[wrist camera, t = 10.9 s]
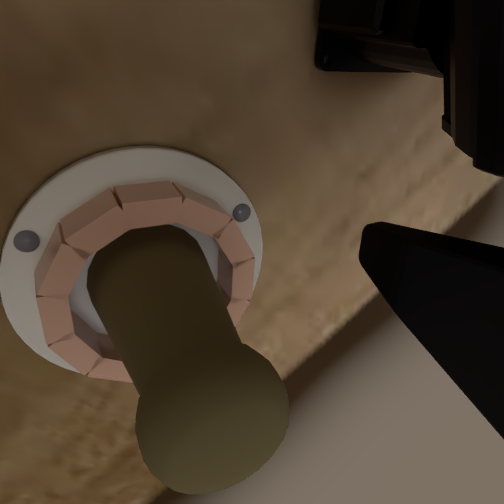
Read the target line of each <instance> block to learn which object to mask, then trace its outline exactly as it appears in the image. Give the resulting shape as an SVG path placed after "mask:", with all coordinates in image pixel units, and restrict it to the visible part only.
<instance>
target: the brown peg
mask: <svg viewBox="0 0 504 504" xmlns="http://www.w3.org/2000/svg"><path fill="white" fill-rule="evenodd" d="M86 287H87V290H88V294H89V297H90V300H91V302H92V304H93V306H94V308H95V310H96V312H97V314H98V316H99V318H100V320H101V322H102V324H103V326H104V328H105V329H106V331H107V333H108V335H109V337H110V339H111V341H112V343H113V345H114V347H115V349H116V351H117V353H118V354H119V356H120V358H121V360H122V362H123V364H124V366H125V368H126V370H127V372H128V374H129V376H130V378H131V380H132V381H133V383H134V385H135V387H136V389H137V391H138V393H139V395H140V397H139V401H138V407H137V413H136V427H135V432H136V436H137V440H138V444H139V447H140V450H141V454H142V457H143V460H144V462H145V464H146V465H147V467H148V468H149V470H150V471H151V473H152V474H153V475H154V476H155V477H156V478H157V479H159V480H160V481H161V482H162V483H163V484H165V485H166V486H168V487H169V488H171V489H172V490H174V491H177V492H181V493H185V494H205V493H211V492H215V491H219V490H222V489H226V488H228V487H230V486H233V485H235V484H237V483H239V482H241V481H243V480H244V479H246V478H247V477H249V476H250V475H252V474H253V473H254V472H256V471H257V470H258V469H259V468H260V467H261V466H262V465H263V464H265V463H266V462H267V461H268V460H269V459H270V457H271V456H272V455H273V454H274V452H275V451H276V449H277V448H278V446H279V445H280V443H281V442H282V440H283V439H284V436H285V433H286V430H287V428H288V416H289V415H288V413H289V410H288V409H289V407H288V396H287V392H286V389H285V387H284V384H283V382H282V380H281V378H280V376H279V375H278V373H277V371H276V370H275V368H274V367H273V366H272V364H271V363H270V361H269V360H267V359H266V358H265V357H263V356H262V355H261V354H260V353H258V352H257V351H255V350H254V349H252V348H251V347H249V346H248V345H246V344H242V343H241V340H240V338H239V336H238V333H237V331H236V328H235V326H234V324H233V321H232V319H231V317H230V314H229V312H228V309H227V307H226V305H225V302H224V300H223V298H222V295H221V293H220V290H219V288H218V286H217V283H216V281H215V279H214V276H213V274H212V271H211V269H210V267H209V264H208V262H207V260H206V257H205V255H204V253H203V251H202V249H201V247H200V245H199V244H198V242H197V240H196V239H195V238H194V237H192V236H191V235H190V234H189V233H188V232H186V231H185V230H184V229H181V228H179V227H176V226H173V225H170V224H166V225H158V226H151V227H143V228H136V229H130V230H128V231H127V232H125V233H124V234H122V235H121V236H119V237H118V238H116V239H115V240H113V241H112V242H110V243H109V244H107V245H106V246H104V247H103V248H101V249H100V250H98V251H97V252H96V253H95V255H94V257H93V259H92V262H91V264H90V266H89V268H88V272H87V284H86Z"/></svg>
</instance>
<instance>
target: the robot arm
mask: <svg viewBox="0 0 504 504" xmlns="http://www.w3.org/2000/svg"><path fill="white" fill-rule="evenodd" d="M318 22H319V31H318V39H317V47H316V55H315V64H316V67H317V68H318V69H319V70H323V71H333V72H415V73H420V74H425V75H430V76H435V77H440V78H444V115H443V116H442V129H443V130H444V131H445V132H446V133H447V134H449V135H450V136H451V137H452V138H453V140H454V143H455V146H457V147H458V148H459V149H460V150H462V151H463V152H464V153H465V154H467V155H468V156H469V157H471V158H473V166H474V167H475V168H477V169H479V170H481V171H484V172H487V173H490V174H493V175H496V176H499V177H504V0H321V2H320V10H319V18H318ZM326 55H327V56H328V61H327V63H326V64H324V58H325V56H326ZM359 261H360V264H361V266H362V267H363V268H364V270H365V271H366V273H367V274H368V276H369V277H370V278H371V280H372V281H373V283H374V284H375V286H376V287H377V288H378V290H379V291H380V293H381V294H382V296H383V297H384V298H385V300H386V301H387V303H388V304H389V305H390V307H391V308H392V309H393V311H394V312H395V313H396V314H397V316H398V317H399V318H400V320H401V321H402V322H403V323H404V324H405V325H406V326H407V328H408V329H409V330H410V331H411V332H412V333H413V334H414V336H415V337H416V338H417V339H418V340H419V342H420V343H421V344H422V345H423V346H424V347H425V349H426V350H427V351H428V352H429V353H430V354H431V355H432V357H433V358H434V359H435V360H436V361H437V362H438V364H439V365H440V366H441V367H442V368H443V369H444V371H445V372H446V373H447V374H448V375H449V376H450V378H451V379H452V380H453V381H454V382H455V383H456V384H457V386H458V387H459V388H460V389H461V390H462V391H463V392H464V394H465V395H466V396H467V397H468V398H469V400H470V401H471V402H472V403H473V404H474V405H475V406H476V408H477V409H478V410H479V411H480V412H481V414H483V416H484V417H485V418H486V419H487V420H488V422H489V423H490V424H491V425H492V426H493V427H494V429H495V430H496V431H497V432H498V433H499V434H500V436H501V437H502V438H503V439H504V248H503V247H498V246H494V245H489V244H484V243H480V242H475V241H470V240H466V239H461V238H456V237H452V236H447V235H442V234H438V233H433V232H429V231H424V230H419V229H415V228H410V227H405V226H401V225H396V224H391V223H387V222H375V223H371V224H367V225H366V226H365V227H364V229H363V232H362V238H361V244H360V250H359Z"/></svg>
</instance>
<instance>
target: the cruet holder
mask: <svg viewBox="0 0 504 504" xmlns="http://www.w3.org/2000/svg"><path fill="white" fill-rule="evenodd" d="M166 224H170V225H173V226H176V227H179V228H181V229H184V230H185V231H186V232H188V233H189V234H190V235H191V236H192V237H194V238H195V239H196V240H197V242H198V244H199V245H200V247H201V249H202V251H203V253H204V255H205V257H206V260H207V262H208V264H209V267H210V269H211V271H212V274H213V276H214V279H215V281H216V283H217V286H218V288H219V290H220V293H221V295H222V298H223V300H224V302H225V305H226V307H227V309H228V312H229V314H230V317H231V319H232V321H233V324H234V326H235V327H236V325H237V323H238V322H239V320H240V319H241V317H242V315H243V314H244V312H245V311H246V309H247V307H248V306H249V304H250V303H251V301H250V299H252V293H253V290H254V287H255V285H256V282H257V279H258V276H259V272H260V269H261V262H262V252H263V242H262V233H261V228H260V224H259V220H258V217H257V215H256V212H255V210H254V208H253V205H252V204H251V202H250V201H249V199H248V197H247V196H246V194H245V193H244V192H243V191H242V189H241V188H240V187H239V186H238V185H237V184H236V183H235V182H234V181H233V180H232V179H231V178H230V177H229V176H227V175H226V174H225V173H224V172H223V171H221V170H220V169H219V168H218V167H216V166H215V165H213V164H211V163H210V162H208V161H207V160H205V159H203V158H201V157H198V156H196V155H194V154H191V153H189V152H185V151H182V150H178V149H174V148H169V147H162V146H150V145H135V146H127V147H119V148H114V149H110V150H106V151H102V152H98V153H95V154H93V155H90V156H88V157H85V158H82V159H80V160H78V161H76V162H74V163H72V164H70V165H69V166H67V167H65V168H63V169H61V170H60V171H58V172H57V173H56V174H54V175H53V176H52V177H50V178H49V179H48V180H46V181H45V182H44V183H43V184H42V185H41V186H40V187H39V188H38V189H37V190H36V191H34V192H33V193H32V194H31V195H30V197H29V198H28V199H27V200H26V202H25V203H24V204H23V206H22V207H21V208H20V210H19V211H18V213H17V214H16V216H15V218H14V220H13V222H12V223H11V225H10V227H9V230H8V232H7V235H6V238H5V241H4V243H3V248H2V254H1V259H0V293H1V298H2V304H3V306H4V309H5V312H6V315H7V317H8V319H9V321H10V323H11V324H12V326H13V328H14V330H15V331H16V333H17V334H18V335H19V336H20V337H21V339H22V340H23V341H24V342H25V343H26V344H27V345H28V346H29V347H30V348H31V349H33V350H34V351H35V352H36V353H37V354H39V355H40V356H42V357H43V358H45V359H47V360H48V361H50V362H52V363H54V364H56V365H58V366H61V367H63V368H65V369H69V370H72V371H75V372H78V373H81V374H83V375H86V374H87V377H93V378H101V379H108V380H116V381H123V382H131V383H133V381H132V380H131V378H130V376H129V374H128V372H127V370H126V368H125V366H124V364H123V362H122V360H121V358H120V356H119V354H118V353H117V351H116V349H115V347H114V345H113V343H112V341H111V339H110V337H109V335H108V333H107V331H106V329H105V328H104V326H103V324H102V322H101V320H100V318H99V316H98V314H97V312H96V310H95V308H94V306H93V304H92V302H91V300H90V297H89V294H88V290H87V287H86V284H87V272H88V268H89V266H90V264H91V262H92V259H93V257H94V255H95V253H96V252H97V251H98V250H100V249H101V248H103V247H104V246H106V245H107V244H109V243H110V242H112V241H113V240H115V239H116V238H118V237H119V236H121V235H122V234H124V233H125V232H127V231H128V230H130V229H136V228H143V227H151V226H158V225H166Z"/></svg>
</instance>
